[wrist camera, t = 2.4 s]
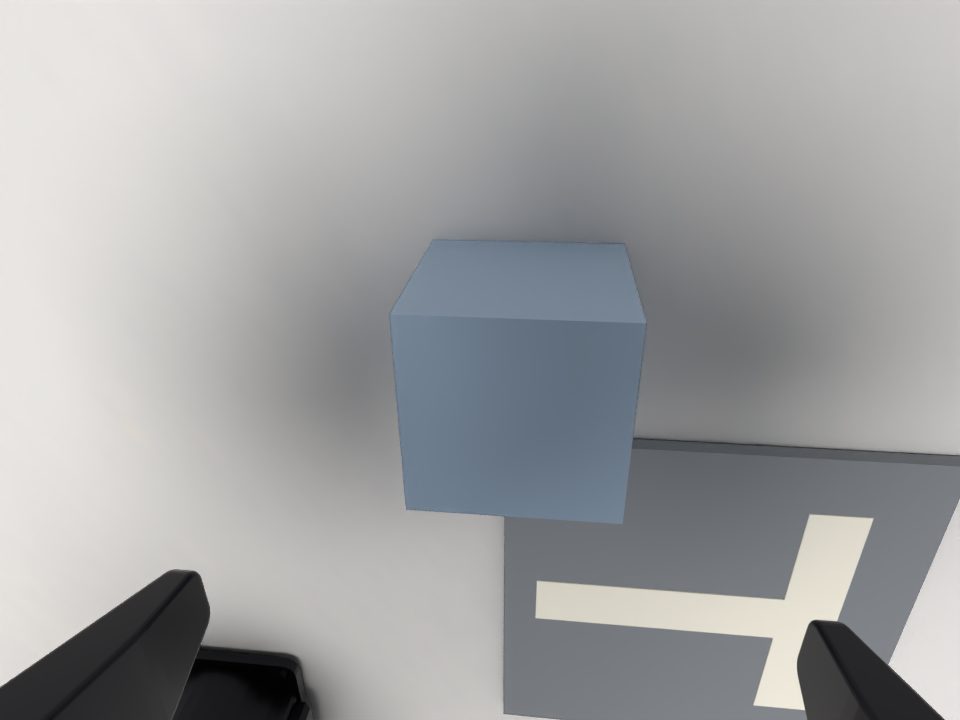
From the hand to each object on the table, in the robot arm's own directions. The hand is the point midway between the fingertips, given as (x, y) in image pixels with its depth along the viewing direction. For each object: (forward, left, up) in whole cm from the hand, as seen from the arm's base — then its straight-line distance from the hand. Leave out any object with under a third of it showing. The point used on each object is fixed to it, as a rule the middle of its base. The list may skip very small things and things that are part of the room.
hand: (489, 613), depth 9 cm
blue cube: (0, 0, -10) cm, 10 cm away
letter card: (+6, -10, -10) cm, 15 cm away
